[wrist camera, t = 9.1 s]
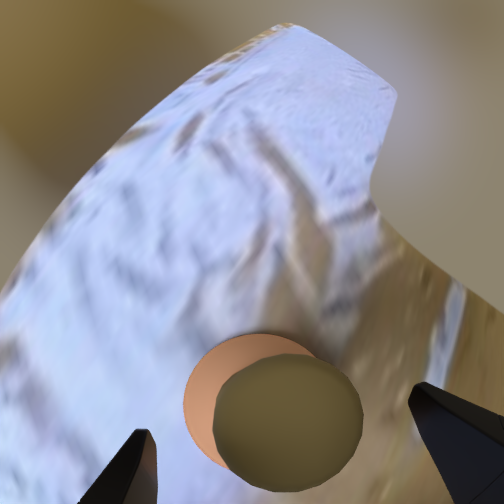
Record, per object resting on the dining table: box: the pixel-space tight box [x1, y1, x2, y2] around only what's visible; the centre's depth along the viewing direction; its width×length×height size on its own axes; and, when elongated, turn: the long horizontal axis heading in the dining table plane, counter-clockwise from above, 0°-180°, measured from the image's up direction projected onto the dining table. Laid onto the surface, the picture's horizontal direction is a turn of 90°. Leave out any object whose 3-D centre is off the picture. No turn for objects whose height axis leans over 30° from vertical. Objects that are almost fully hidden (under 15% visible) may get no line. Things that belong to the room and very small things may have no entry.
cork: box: [212, 353, 364, 492], centre depth 12 cm, size 6×6×11 cm
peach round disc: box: [183, 334, 316, 470], centre depth 17 cm, size 10×10×1 cm
